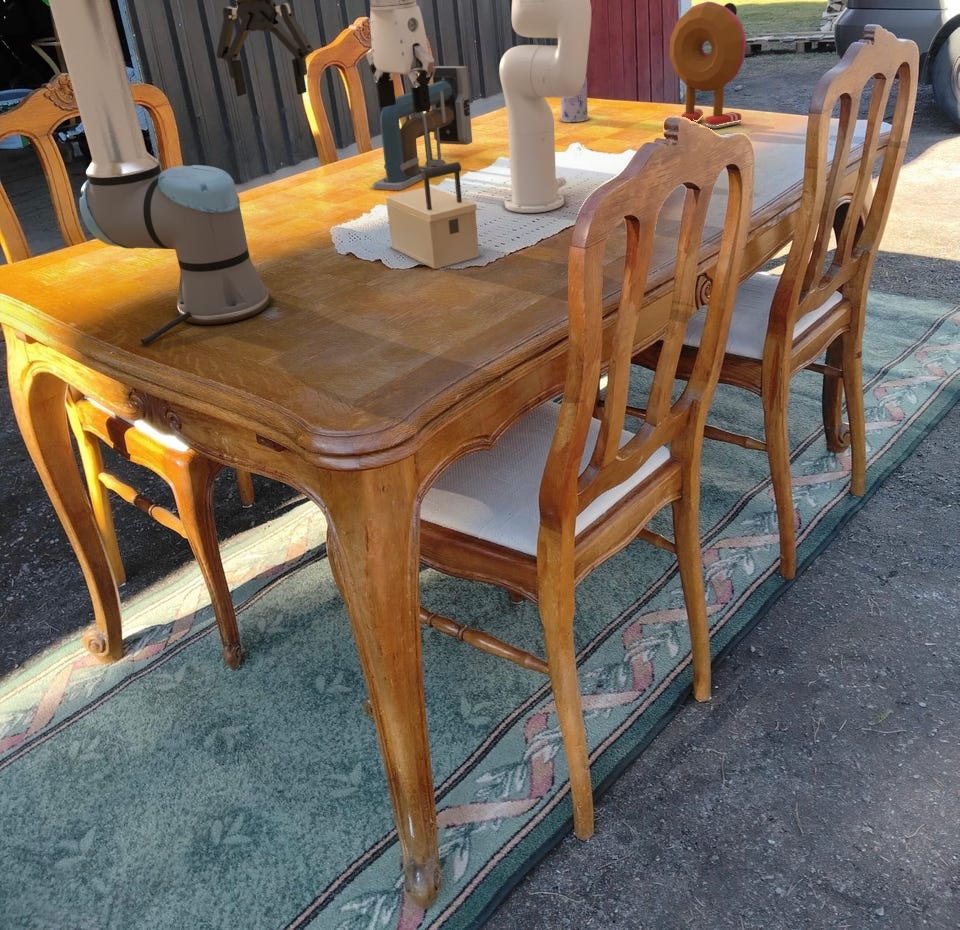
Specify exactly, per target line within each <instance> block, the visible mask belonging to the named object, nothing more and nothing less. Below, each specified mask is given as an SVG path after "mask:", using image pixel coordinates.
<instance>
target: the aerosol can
mask: <svg viewBox="0 0 960 930" xmlns="http://www.w3.org/2000/svg"><path fill="white" fill-rule="evenodd" d="M560 113H561V115H560V116H561V117H560V121H561V122H563V123H580V122H584V121H587V120H589V116H588V69H587V70H586V77H585V82H584V85H583V87H582V89H581V91H580V92H579V94H577V95H576V96H574V97H571V98H560Z"/></svg>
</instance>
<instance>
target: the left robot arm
mask: <svg viewBox="0 0 960 930" xmlns="http://www.w3.org/2000/svg"><path fill="white" fill-rule="evenodd" d="M110 1H111V0H48V3H49V6H50V7H49V8H50V10H51V14H52V18H53V21H54V24H55V29H56V32H57V35H58V39H59V43H60V46H61V50H62V53H63V58H64V61H65V64H66V68H67V73H68V76H69V79H70V83H71V86H72V90H73V94H74V97H75V102H76V104H77V105H76V106H77V108H78V111H79V115H80V119H81V123H82V126H83V130H84V132H85V133H84V134H85V137H86V141H87V144H88V148H89V151H90V152H89V153H90V156H91V162H90V164H89V165H88V167H87V168H86V170H85V174H86V178H87V180H86V181H85V182H84V183H83V184H82V187H81V189H80V194H81V195H82V196H81V197H79V209H80V210H79V211H80V214H81V217H82V220H83V222H84V225H85V227H86V228H87V229H88V231H89V232H90V233H91V234H92V235H93V236H94V237H95V238H96V239H97V240H98V241H100V242H102V243H103V244H105V245H107V246H112V247H117V248H118V247H119V248H123V249H128V250H129V249H130V250H131V249H132V250H133V249H151V250H152V249H153V250H155V249H157V250H175V254H176V258H177V262H178V266H179V283H178V294H177V310H178V314H179V316H178V317H175V318H174V319H172V320H171V321H170V322H167V323H166V324H165V325H163V326H162V327H160V328H159V329H157V330H156V331H154V332H152V333H151V334H149V335H147V336H146V337H143V338H141V339H140V343H141V344H142V345H143V346H145V345H146V344H149V343H150V342H153V341H154V340H156V339H157V338H159V337H160V336H162V335H164V334H165V333H166V332H168V331H170V330H171V329H173V328H174V327H176V326H178V325H179V324H181V323H183V322H186V323H189V324H193V325H202V326H203V325H204V326H205V325H206V326H210V325H222V324H230V323H233V322H239V321H241V320H245V319H248V318H251V317H253V316H256V315H258V314H260V312H263V311H264V310H265V309H266V308H267V307H268V306H269V305H270V296H269V291H268V289H267V287H266V284H265V283H264V282H263V280H262V278H261V276H260V274H259V271H258V270H257V269H256V267H255V265H254V264H253V262H252V260H251V257H250V251H249V246H248V241H247V240H248V239H247V236H246V231H245V226H244V225H245V224H244V220H243V216H242V210H241V206H240V203H241V201H240V200H241V199H240V196H239V194H238V192H237V188H236V184H235V181H234V179H233V178H232V176H231V174H230V173H228V172H227V171H225V170H224V169H221V168H218V167H216V166H215V167H214V166H210V165H200V164H193V165H177V166H173V167H169V168H166V169H164V170H162V169H161V164H160V161H159V159H157V158H156V157H154V156H153V155H151V154H150V153H149V152H148V151H147V147H146V144H145V139H144V135H143V132H142V131H143V130H142V127H141V123H140V119H139V115H138V110H137V107H136V103H135V98H134V94H133V91H132V86H131V83H130V82H131V81H130V78H129V74H128V70H127V66H126V62H125V58H124V53H123V50H122V46H121V41H120V37H119V34H118V33H119V32H118V30H117V26H116V21H115V18H114V13H113V9H112V5H111V2H110ZM235 1H236V7H234V6H232V5H229V6H226V7H223V8H222V16H223V17H222V18H223V21H222V26H221V31H220V36H219V41H218V46H217V50H216V51H217V52H216V58H217V59H222V60H224V61H225V62H226V63H227V68H228V73H229V77H230V79H233V80H234V87H235V91H236V97H241V96H245V95H246V94H248V92H247V91H248V90H247V87H246V82H245V75H244V70H243V65H242V60H241V59H239V57H238V55H239V53H240V51H241V49H242V47H243V45H244V44H245V41H246V39H247V38H248V36H249V34H250V33H251V32H256V31H262V32H264V31H265V32H266V31H270V32H271V33H272V34H273V35H274V36H275V37H276V38H277V39H278V40H279V41H280V42H281V44H282V45H283V46H284V47H286V49H287V50H288V51H289V53H291V54H292V56H294V58H293V59H291V62H292V69H293V75H294V82H295V87H296V94H297V95H303V94H305V93H307V86H306V85H307V84H306V80H305V76H307V75H308V68H307V67H308V66H307V60H306V57H307V56H308V55H310V54H312V53H313V52H314V48H313V46H312V44H311V43H310V41H309V39H308V37H307V36H306V34H305V32H304V30H303V29H302V27H301V26H300V24H299V22H298V20H297V19H296V17H295V15H294V12H293V8H292V4H291V3H289V2H286V3H282V4H280V5H277V4H276V1H275V0H235ZM278 14H279V16H280V17H282V20H283V22H284V24H285V25H286V28H287V29H288V30H289V32H290V33H288V31H287V30H286V29H285V28H284V27H283V24H282V23H281V22H280V20H279V19H278V18H277V16H278ZM237 17H238V18H239V19H240V20H241V21H240V24H239V26H238V28H237V32H236V34H235V35H234V38H233V40H232V37H233V34H234V33H233V32H234V29H235V23H236V19H237ZM290 34H291V35H290ZM231 41H232V43H231Z"/></svg>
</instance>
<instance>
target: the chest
mask: <svg viewBox="0 0 960 930" xmlns="http://www.w3.org/2000/svg"><path fill="white" fill-rule="evenodd" d="M386 210H387V217H388V226H389V233H390V234H389V235H390V241H391V242H390V243H391V248H392V249H394V250H395V251H398V252H400V253H401V254H403V255H406V256H408V257H410V258H412V259H414V260H415V261H418V262H419V263H422V264H423V265H426V266H428V267H429V268H432V269H434V270H437V269H440V268H443V267H447V266H450V265H455V264H458V263H462V262H466V261H469V260H472V259H475V258H479V257H480V253H479V252H480V251H479V239H478V228H477V227H478V225H477V212H476V211H472V212H468V213H464V214H460V215H456V216H452V217H448V218H444V219H440V220H436V221H432V222H431V221H428V220H426V219H424V218H421V217H419V216H417V215H414V214H412V213H410V212H407V211H405V210H403V209H400V208H398V207H396V206H393V205H391V204H389V203H387V202H386Z"/></svg>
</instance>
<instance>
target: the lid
mask: <svg viewBox="0 0 960 930" xmlns="http://www.w3.org/2000/svg"><path fill="white" fill-rule="evenodd" d="M461 171H462V165H461V163H460V162H459V161H455V162H451V163H447V164H444V165H442V166H432V168H428V169H424V170H422V171H421V176H422V178H423V179H422V180H423V184H424V185H423V186H424V187H421V188H417V189H416V188H415V189H412V190H408V191H403V192H399V193H395V194H391V195H386V196H385V200H386V204H387V203H389V204H391V205H393V206H396V207H398V208H400V209H403V210H405V211H407V212H410V213H412V214H414V215H417V216H419V217H421V218H424V219H426V220H428V221H431V222H432V221H436V220H440V219H444V218H448V217H452V216H456V215H460V214H464V213H468V212H472V211H475V212H476V211H478V208H477V203H475V202H473V201H470V200H467V199H465V198H462V187H461V177H460V172H461ZM451 174H454V184H455V195H454V194H451V193H448V192H446V191H443V190H441V189H438V188H435V187H432V186H431V185H430V179H434V178H439V177H442V176H447V175H451Z"/></svg>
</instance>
